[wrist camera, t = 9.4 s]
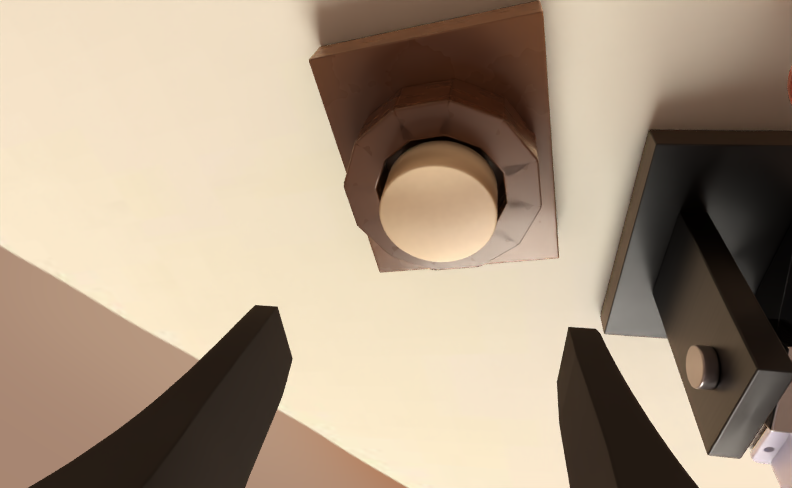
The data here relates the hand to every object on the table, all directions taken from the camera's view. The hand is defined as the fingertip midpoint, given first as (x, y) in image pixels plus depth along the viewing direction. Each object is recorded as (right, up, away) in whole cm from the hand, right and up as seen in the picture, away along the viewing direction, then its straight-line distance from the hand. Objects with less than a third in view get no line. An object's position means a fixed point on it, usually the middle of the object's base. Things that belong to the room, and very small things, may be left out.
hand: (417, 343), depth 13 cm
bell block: (+2, +6, +8) cm, 10 cm away
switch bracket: (+13, +3, +9) cm, 16 cm away
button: (+1, +4, +6) cm, 7 cm away
